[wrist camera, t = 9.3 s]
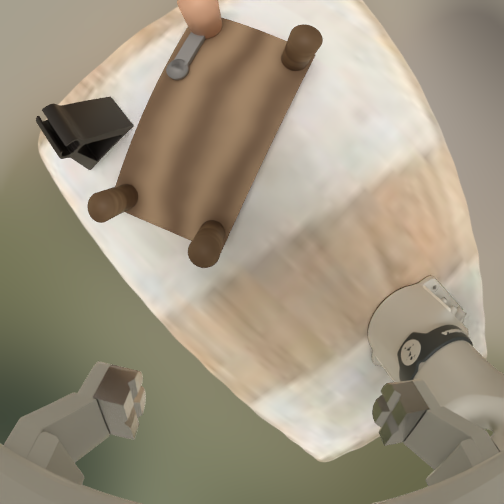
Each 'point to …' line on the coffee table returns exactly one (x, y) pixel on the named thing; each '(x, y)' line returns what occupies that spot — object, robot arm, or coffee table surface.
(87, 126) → the phone stand
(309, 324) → the coffee table surface
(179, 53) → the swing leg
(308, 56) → the stool base
